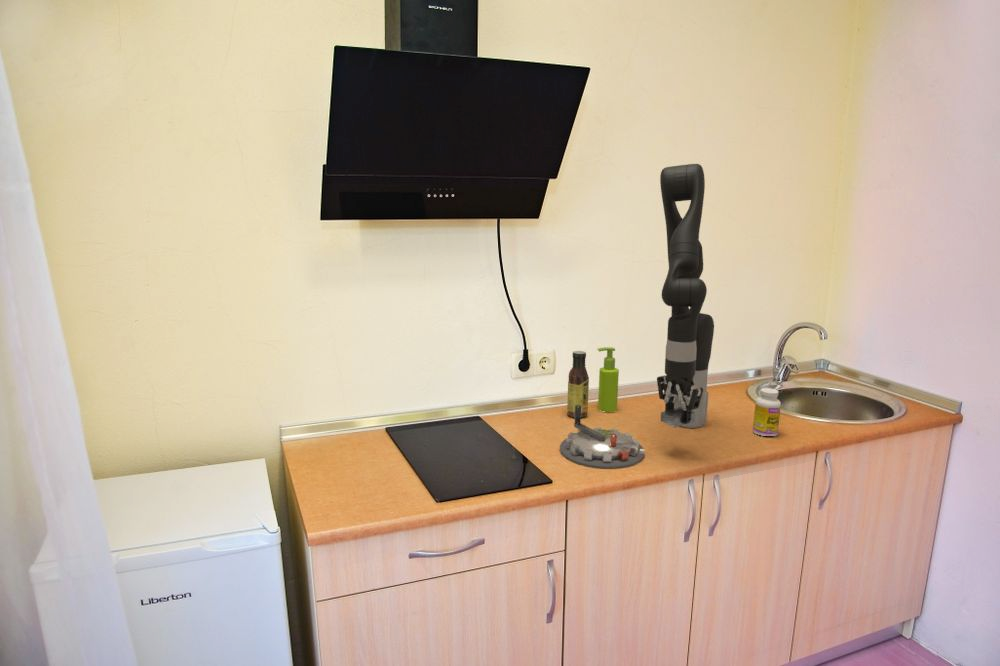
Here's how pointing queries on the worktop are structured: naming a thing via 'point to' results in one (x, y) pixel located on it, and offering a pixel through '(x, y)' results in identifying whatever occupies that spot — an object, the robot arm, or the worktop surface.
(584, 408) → the sauce bottle
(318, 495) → the worktop surface
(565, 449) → the sprocket base
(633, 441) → the sprocket
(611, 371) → the soap dispenser
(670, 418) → the chain link
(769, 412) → the supplement bottle
